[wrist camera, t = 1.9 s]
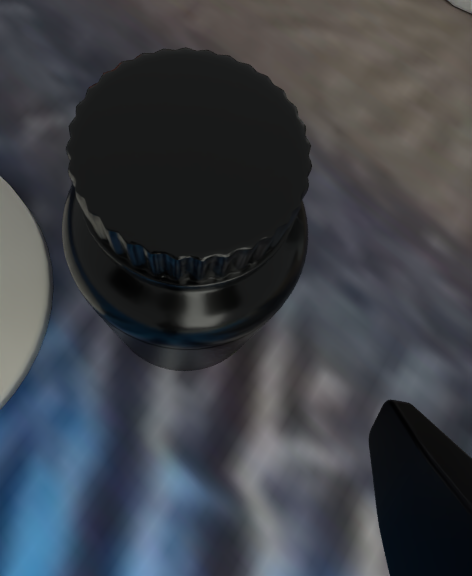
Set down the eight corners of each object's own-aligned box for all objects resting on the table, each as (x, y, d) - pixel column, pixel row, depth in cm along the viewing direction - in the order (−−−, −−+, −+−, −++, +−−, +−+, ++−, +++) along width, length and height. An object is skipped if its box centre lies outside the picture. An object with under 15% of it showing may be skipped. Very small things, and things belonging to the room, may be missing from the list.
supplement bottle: (78, 301, 19) (-85, 127, 7) (184, 206, 21) (187, -47, 9) (188, 408, 18) (199, 398, 7) (287, 299, 20) (427, 146, 9)
